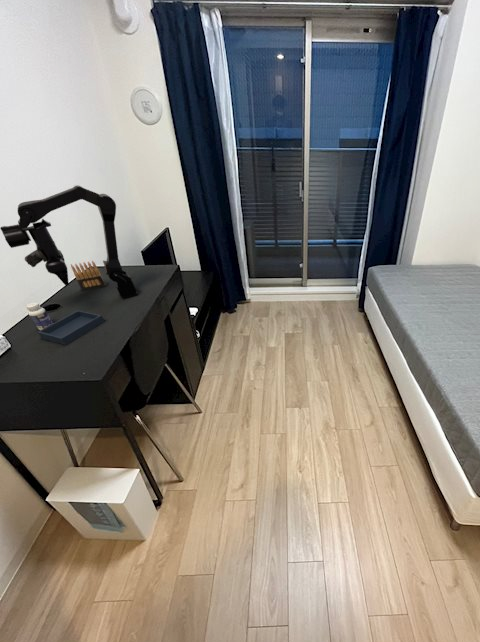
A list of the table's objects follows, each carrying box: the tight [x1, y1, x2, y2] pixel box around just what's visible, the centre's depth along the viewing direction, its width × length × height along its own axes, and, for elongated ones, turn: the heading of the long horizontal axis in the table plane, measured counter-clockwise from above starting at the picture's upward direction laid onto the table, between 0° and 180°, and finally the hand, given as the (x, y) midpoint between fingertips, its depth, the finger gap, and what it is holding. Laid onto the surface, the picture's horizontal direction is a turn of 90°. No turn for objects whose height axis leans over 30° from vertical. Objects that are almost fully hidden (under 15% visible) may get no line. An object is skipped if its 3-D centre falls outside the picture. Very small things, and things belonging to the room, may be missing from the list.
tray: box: [37, 309, 105, 346], centre depth 125 cm, size 17×13×3 cm
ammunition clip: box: [70, 260, 107, 292], centre depth 152 cm, size 11×2×12 cm, turn 109°
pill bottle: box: [25, 301, 54, 331], centre depth 126 cm, size 5×5×10 cm
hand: (66, 281), depth 131 cm, fingers open, 9 cm apart
